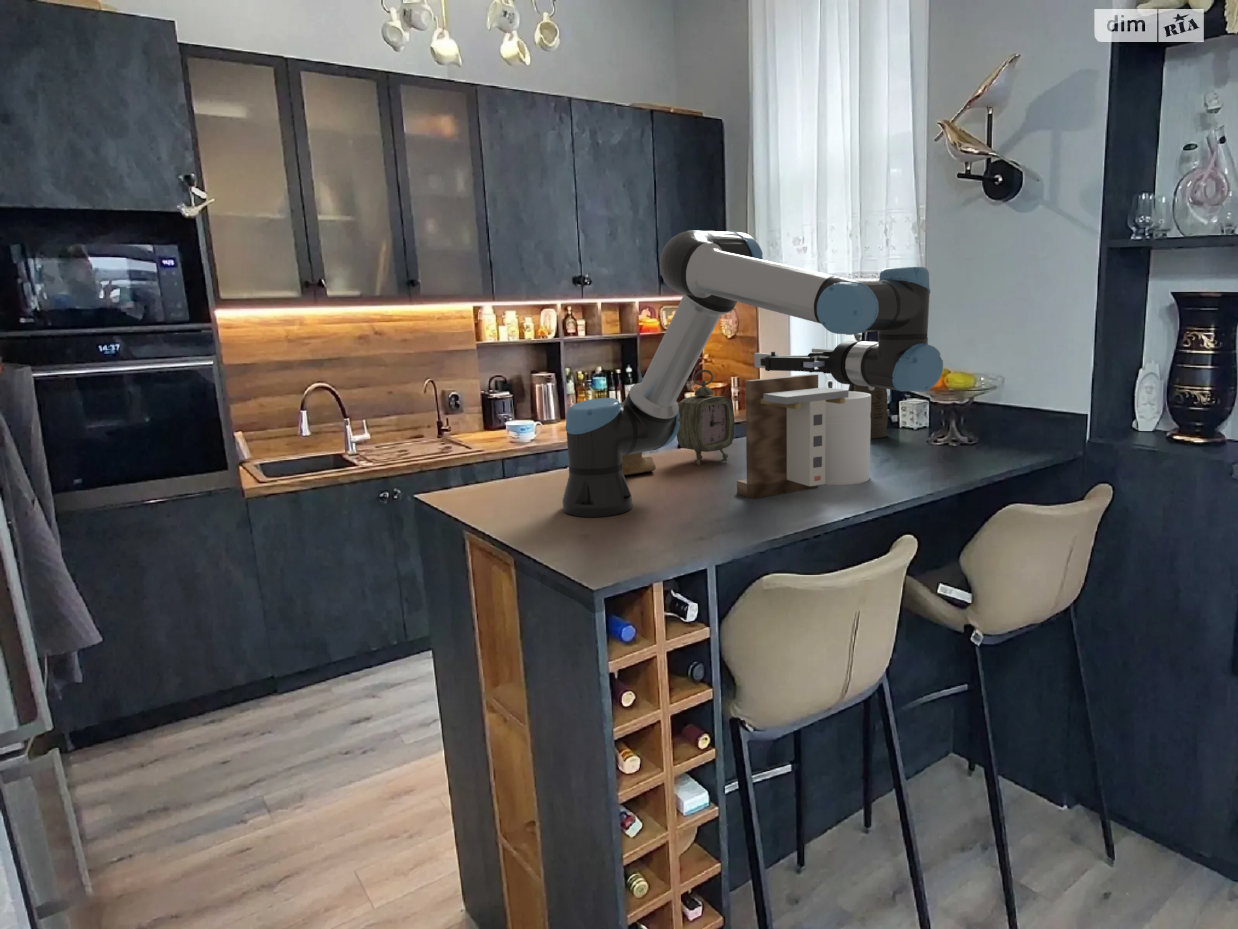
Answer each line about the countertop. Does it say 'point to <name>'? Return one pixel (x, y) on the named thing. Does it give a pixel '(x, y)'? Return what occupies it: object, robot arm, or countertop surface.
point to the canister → (848, 440)
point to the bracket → (770, 436)
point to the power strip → (806, 432)
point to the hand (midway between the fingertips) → (784, 357)
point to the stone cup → (637, 464)
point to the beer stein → (876, 409)
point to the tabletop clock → (705, 421)
